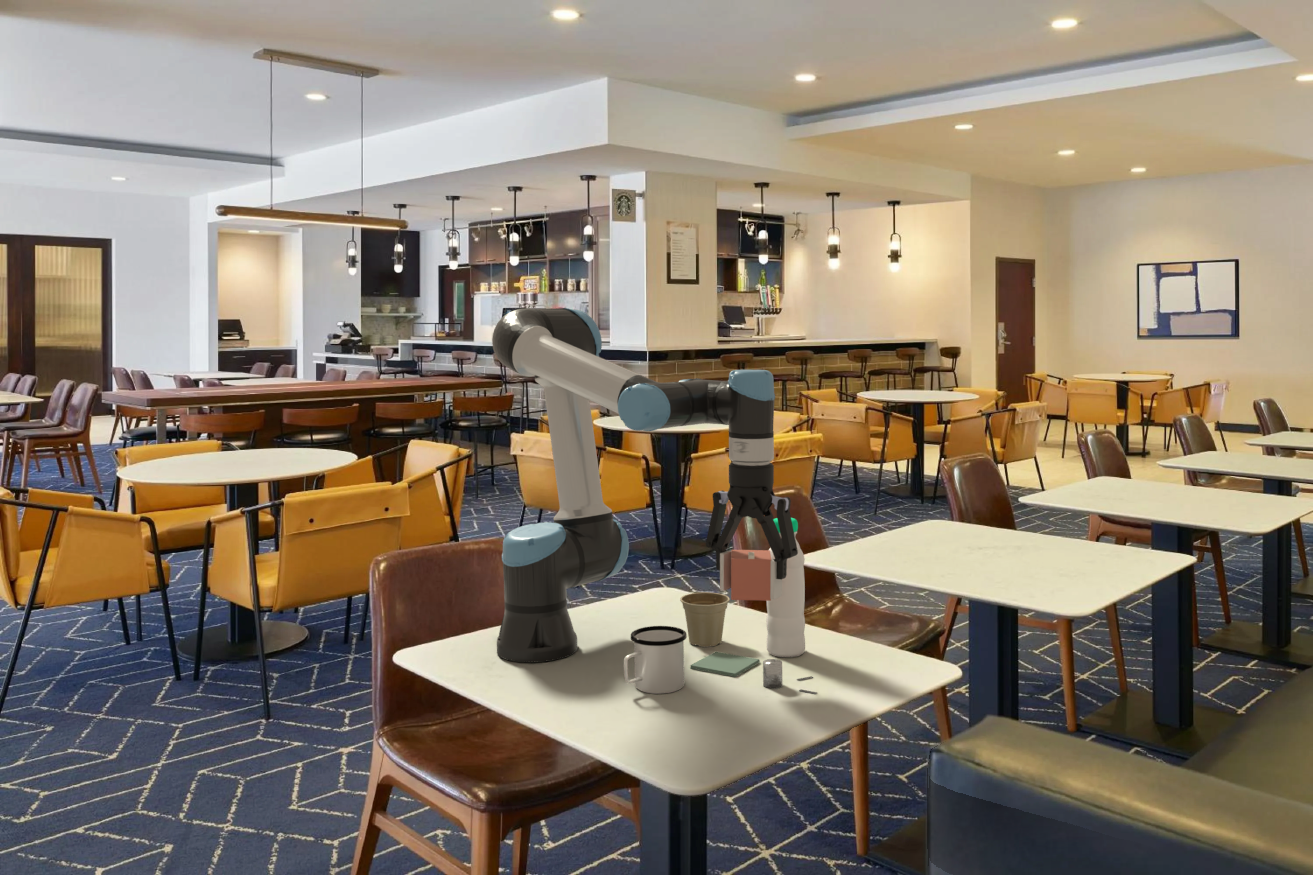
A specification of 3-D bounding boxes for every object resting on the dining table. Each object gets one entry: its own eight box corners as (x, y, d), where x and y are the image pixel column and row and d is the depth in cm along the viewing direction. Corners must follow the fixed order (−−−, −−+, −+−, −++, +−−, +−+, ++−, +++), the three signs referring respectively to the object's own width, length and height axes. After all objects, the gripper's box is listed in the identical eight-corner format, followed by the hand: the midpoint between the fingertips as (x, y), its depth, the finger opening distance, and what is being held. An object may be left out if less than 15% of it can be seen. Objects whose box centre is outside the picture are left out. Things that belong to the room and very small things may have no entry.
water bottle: (804, 659, 185) (803, 522, 183) (764, 657, 187) (763, 521, 184) (806, 647, 192) (805, 515, 190) (768, 645, 193) (767, 514, 191)
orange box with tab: (731, 589, 178) (731, 546, 177) (769, 589, 178) (770, 546, 177) (731, 599, 172) (731, 555, 171) (770, 600, 171) (771, 555, 170)
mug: (663, 672, 180) (662, 622, 179) (699, 686, 172) (698, 633, 171) (608, 688, 172) (606, 636, 171) (643, 703, 165) (642, 648, 164)
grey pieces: (759, 686, 172) (759, 663, 171) (783, 671, 179) (783, 649, 178) (812, 696, 166) (812, 672, 166) (834, 680, 173) (834, 657, 173)
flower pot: (740, 643, 195) (739, 599, 194) (700, 653, 190) (699, 607, 189) (710, 632, 203) (709, 589, 202) (671, 641, 198) (670, 597, 197)
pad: (690, 668, 181) (690, 665, 181) (716, 654, 189) (716, 651, 189) (735, 676, 176) (735, 673, 176) (759, 662, 184) (759, 659, 184)
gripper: (684, 459, 175) (684, 588, 178) (800, 469, 163) (798, 607, 166) (707, 455, 181) (707, 579, 184) (820, 464, 169) (818, 597, 172)
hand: (750, 592), depth 175 cm, fingers closed on orange box with tab, 9 cm apart
